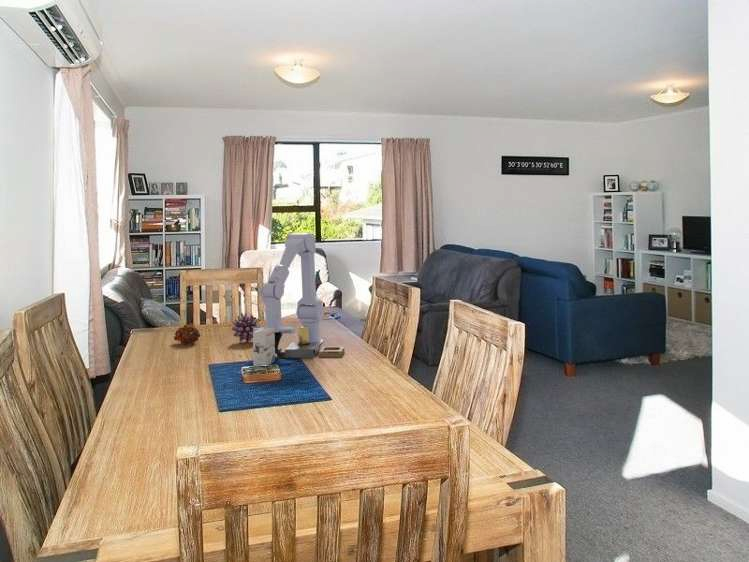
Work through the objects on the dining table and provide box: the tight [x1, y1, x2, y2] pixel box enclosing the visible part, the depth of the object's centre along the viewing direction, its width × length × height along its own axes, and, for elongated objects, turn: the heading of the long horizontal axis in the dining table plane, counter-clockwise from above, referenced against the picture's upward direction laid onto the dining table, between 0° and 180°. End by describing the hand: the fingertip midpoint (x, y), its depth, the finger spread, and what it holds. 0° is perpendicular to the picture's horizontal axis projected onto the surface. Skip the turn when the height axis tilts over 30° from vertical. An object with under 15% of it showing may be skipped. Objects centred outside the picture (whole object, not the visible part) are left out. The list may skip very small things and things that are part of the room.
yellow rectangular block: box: [297, 325, 309, 346], centre depth 228 cm, size 4×4×10 cm
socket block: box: [284, 341, 320, 359], centre depth 226 cm, size 13×10×3 cm
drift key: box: [276, 347, 285, 358], centre depth 222 cm, size 3×9×3 cm, turn 86°
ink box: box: [252, 327, 276, 367], centre depth 211 cm, size 9×5×12 cm, turn 168°
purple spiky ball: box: [231, 312, 262, 343], centre depth 250 cm, size 12×12×12 cm
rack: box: [318, 346, 345, 358], centre depth 224 cm, size 8×8×2 cm
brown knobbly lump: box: [173, 323, 201, 345], centre depth 250 cm, size 8×8×12 cm
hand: (274, 353), depth 223 cm, fingers closed
